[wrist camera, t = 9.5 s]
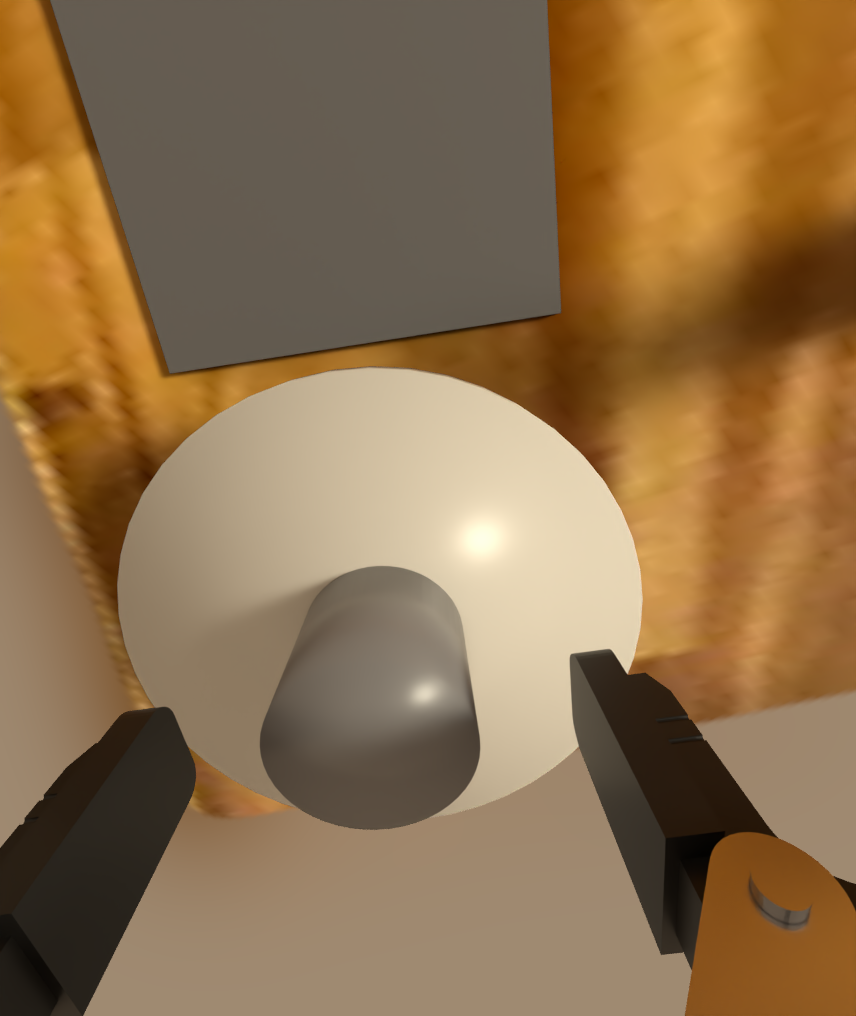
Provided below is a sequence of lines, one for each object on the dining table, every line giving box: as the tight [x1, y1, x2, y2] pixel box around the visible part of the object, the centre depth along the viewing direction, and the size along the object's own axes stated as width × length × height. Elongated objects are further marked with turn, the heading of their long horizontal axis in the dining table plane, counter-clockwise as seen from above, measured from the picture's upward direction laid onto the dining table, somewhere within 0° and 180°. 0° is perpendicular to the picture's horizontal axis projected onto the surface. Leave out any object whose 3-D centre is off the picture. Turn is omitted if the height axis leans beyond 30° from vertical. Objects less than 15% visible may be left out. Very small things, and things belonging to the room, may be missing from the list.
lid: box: [117, 366, 642, 830], centre depth 11 cm, size 13×13×4 cm
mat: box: [50, 0, 561, 374], centre depth 14 cm, size 14×14×1 cm
